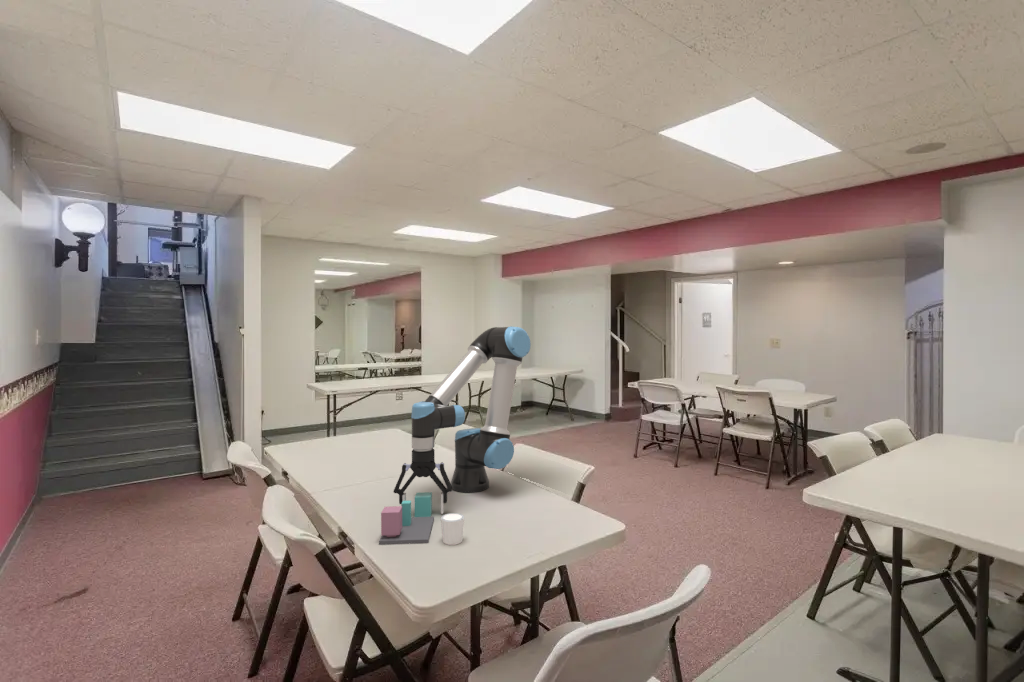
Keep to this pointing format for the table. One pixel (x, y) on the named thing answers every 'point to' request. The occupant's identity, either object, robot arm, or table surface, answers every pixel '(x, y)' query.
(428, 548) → the table surface
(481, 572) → the table surface
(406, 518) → the stand
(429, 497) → the teal rectangular prism
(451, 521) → the white cup
